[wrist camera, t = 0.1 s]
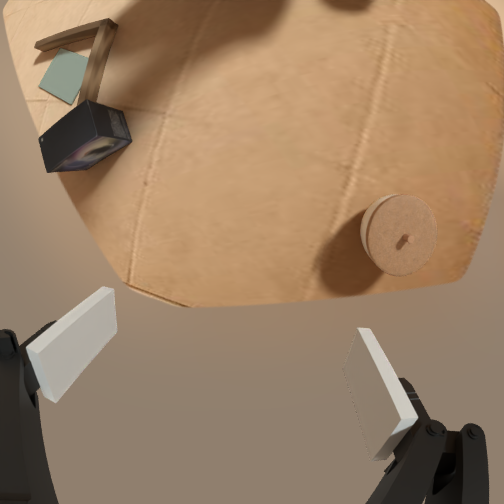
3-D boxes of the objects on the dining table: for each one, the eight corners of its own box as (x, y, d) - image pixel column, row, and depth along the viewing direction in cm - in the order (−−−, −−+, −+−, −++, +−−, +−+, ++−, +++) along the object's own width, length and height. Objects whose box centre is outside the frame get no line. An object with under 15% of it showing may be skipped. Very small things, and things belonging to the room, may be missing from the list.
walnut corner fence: (46, 45, 33) (36, 41, 30) (117, 25, 32) (108, 18, 29) (26, 118, 37) (15, 116, 34) (95, 108, 37) (83, 104, 34)
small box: (86, 173, 40) (45, 176, 30) (76, 141, 39) (36, 137, 29) (134, 143, 38) (96, 137, 28) (123, 109, 37) (86, 96, 27)
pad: (61, 48, 33) (60, 47, 33) (97, 61, 35) (96, 61, 34) (39, 86, 36) (38, 86, 35) (71, 104, 37) (70, 104, 36)
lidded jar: (418, 198, 38) (450, 205, 29) (404, 263, 40) (432, 284, 31) (357, 184, 38) (381, 187, 29) (345, 255, 41) (363, 276, 32)
